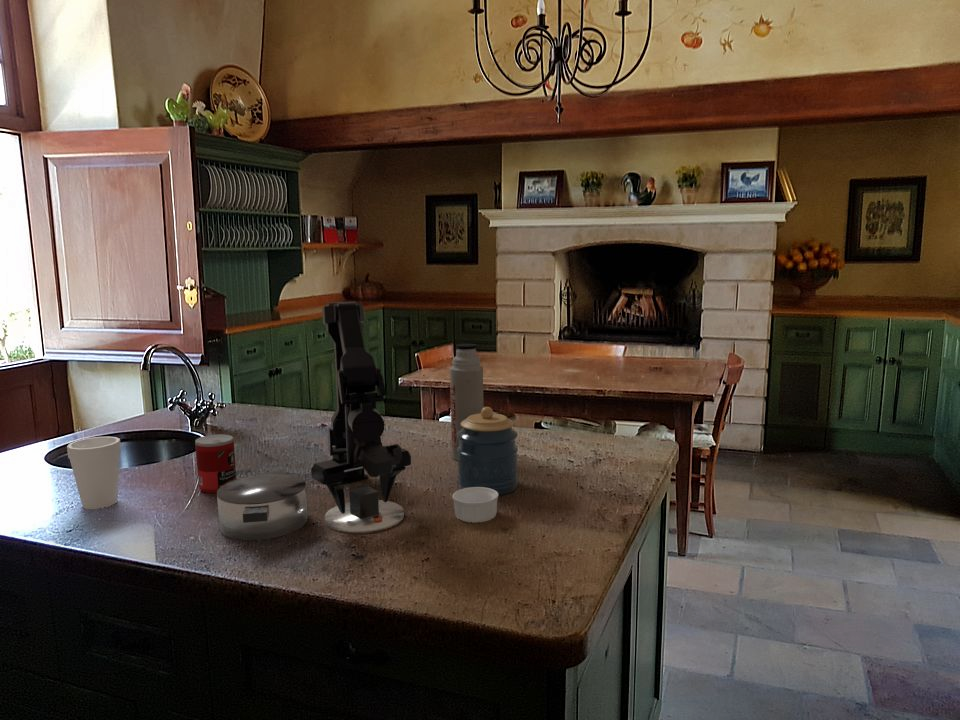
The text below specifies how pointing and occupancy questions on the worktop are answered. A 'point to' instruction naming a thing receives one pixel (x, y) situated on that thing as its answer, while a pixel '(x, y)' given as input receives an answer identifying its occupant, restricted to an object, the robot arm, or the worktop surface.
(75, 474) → the foam cup
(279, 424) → the worktop surface
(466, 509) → the ramekin
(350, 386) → the robot arm
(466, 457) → the canister
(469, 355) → the thermos bottle
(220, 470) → the canned food
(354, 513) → the lid
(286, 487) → the pot
